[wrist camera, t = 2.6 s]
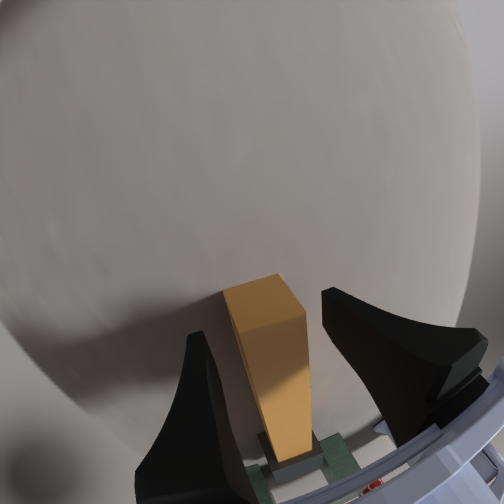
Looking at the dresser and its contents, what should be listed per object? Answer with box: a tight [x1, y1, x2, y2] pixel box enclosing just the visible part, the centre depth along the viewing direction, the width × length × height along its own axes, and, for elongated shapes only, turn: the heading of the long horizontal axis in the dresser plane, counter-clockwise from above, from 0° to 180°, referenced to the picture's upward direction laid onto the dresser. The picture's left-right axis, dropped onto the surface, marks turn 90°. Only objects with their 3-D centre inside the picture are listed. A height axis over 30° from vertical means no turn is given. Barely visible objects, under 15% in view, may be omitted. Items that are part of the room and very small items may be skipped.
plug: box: [222, 273, 324, 484], centre depth 16 cm, size 19×4×4 cm, turn 10°
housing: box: [245, 433, 367, 504], centre depth 21 cm, size 6×11×7 cm, turn 100°
